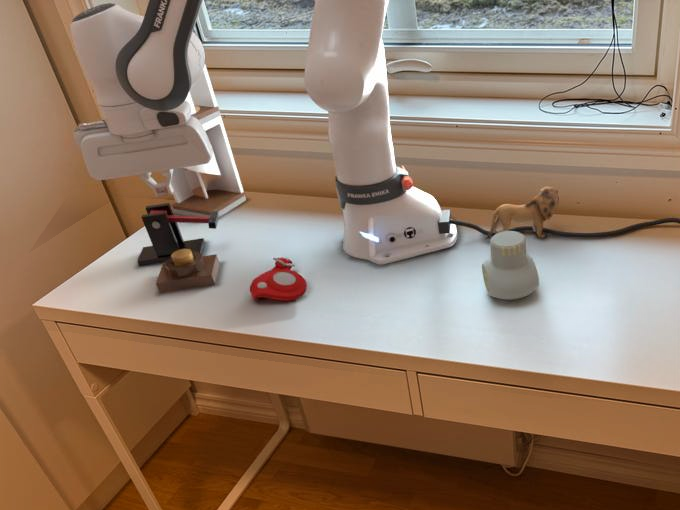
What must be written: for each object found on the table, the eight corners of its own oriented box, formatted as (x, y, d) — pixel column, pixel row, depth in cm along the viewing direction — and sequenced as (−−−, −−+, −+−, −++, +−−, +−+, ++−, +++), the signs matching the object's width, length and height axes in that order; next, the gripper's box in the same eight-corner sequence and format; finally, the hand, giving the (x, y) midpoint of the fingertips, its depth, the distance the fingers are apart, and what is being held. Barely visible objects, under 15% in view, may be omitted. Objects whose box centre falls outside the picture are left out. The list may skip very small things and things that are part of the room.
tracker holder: (316, 288, 123) (260, 296, 118) (314, 307, 126) (259, 316, 121) (291, 248, 130) (237, 254, 124) (289, 267, 133) (236, 274, 127)
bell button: (195, 255, 131) (192, 247, 130) (192, 265, 128) (189, 256, 127) (176, 258, 131) (172, 250, 130) (172, 268, 128) (169, 259, 127)
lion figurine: (554, 223, 138) (554, 180, 133) (563, 235, 134) (563, 191, 129) (482, 235, 136) (479, 192, 131) (489, 248, 132) (485, 204, 127)
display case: (175, 213, 155) (112, 46, 134) (208, 193, 163) (154, 32, 141) (213, 220, 151) (155, 49, 129) (246, 200, 158) (196, 34, 137)
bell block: (220, 264, 135) (213, 245, 133) (215, 285, 129) (208, 266, 127) (167, 272, 134) (159, 253, 132) (159, 293, 128) (151, 274, 126)
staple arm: (219, 220, 140) (217, 208, 138) (216, 231, 136) (215, 219, 135) (154, 218, 137) (152, 206, 136) (149, 229, 133) (147, 218, 132)
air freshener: (542, 303, 116) (540, 250, 110) (493, 311, 115) (489, 258, 109) (526, 270, 125) (524, 220, 119) (481, 278, 124) (477, 227, 118)
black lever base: (205, 243, 143) (189, 198, 137) (201, 257, 138) (185, 211, 132) (145, 252, 142) (126, 207, 136) (139, 266, 137) (119, 221, 131)
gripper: (62, 131, 111) (99, 211, 119) (193, 112, 113) (220, 192, 121) (73, 119, 116) (108, 196, 124) (198, 100, 118) (224, 178, 126)
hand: (164, 194), depth 123 cm, fingers closed
